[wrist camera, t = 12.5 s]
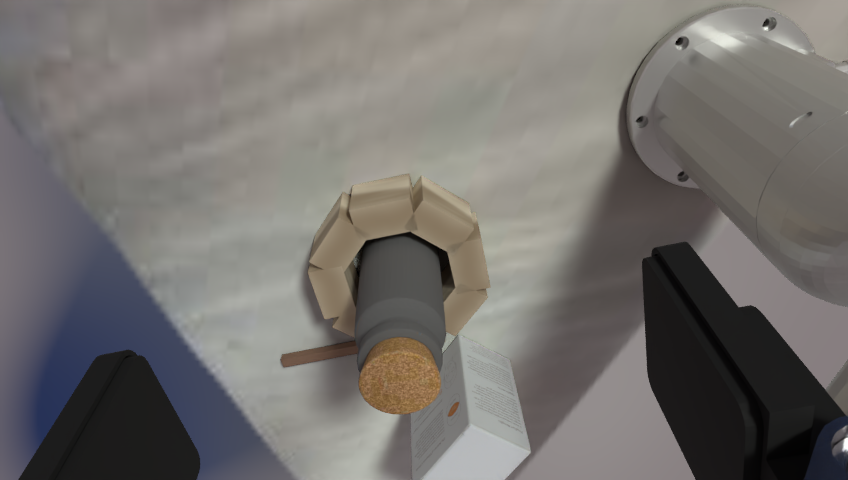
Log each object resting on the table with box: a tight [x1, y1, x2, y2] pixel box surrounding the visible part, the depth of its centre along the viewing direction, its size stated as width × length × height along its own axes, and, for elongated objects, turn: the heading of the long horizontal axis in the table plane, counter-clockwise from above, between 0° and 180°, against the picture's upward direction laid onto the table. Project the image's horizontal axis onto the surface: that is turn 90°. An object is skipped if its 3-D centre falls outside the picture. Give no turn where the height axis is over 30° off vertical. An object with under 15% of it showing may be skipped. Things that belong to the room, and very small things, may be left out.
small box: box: [410, 335, 531, 480], centre depth 51 cm, size 8×6×10 cm
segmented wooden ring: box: [308, 174, 490, 342], centre depth 48 cm, size 12×12×4 cm
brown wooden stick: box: [281, 341, 358, 367], centre depth 54 cm, size 10×1×1 cm, turn 102°
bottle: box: [354, 232, 446, 414], centre depth 43 cm, size 6×6×15 cm
